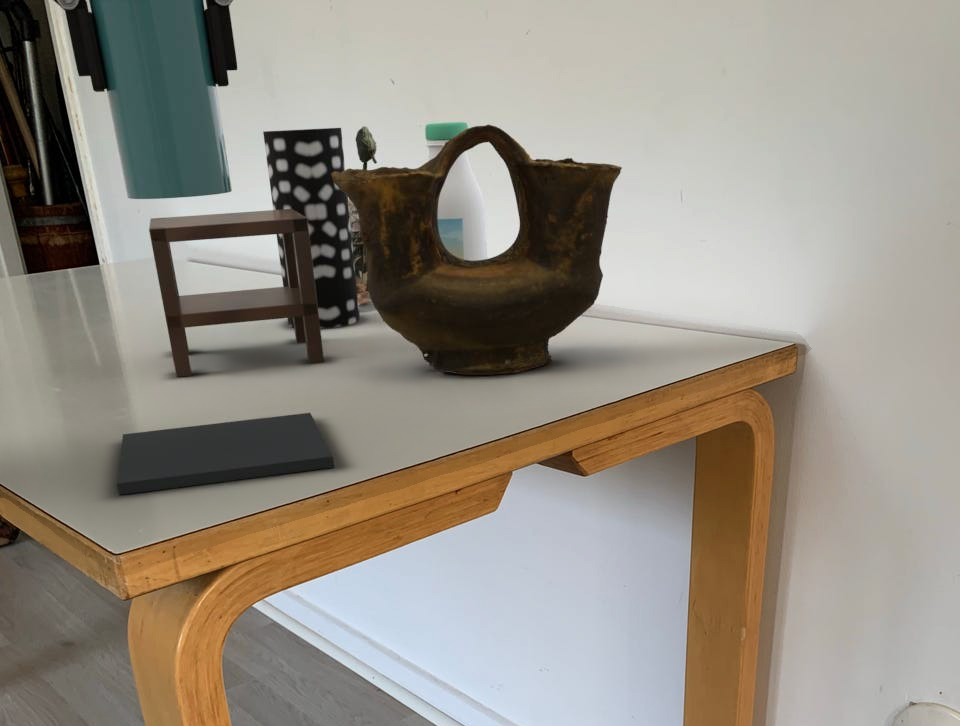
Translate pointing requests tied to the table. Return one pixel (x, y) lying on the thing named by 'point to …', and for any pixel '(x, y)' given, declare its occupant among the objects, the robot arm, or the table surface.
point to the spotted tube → (317, 214)
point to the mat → (221, 453)
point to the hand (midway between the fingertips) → (161, 85)
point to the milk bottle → (458, 199)
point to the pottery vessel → (490, 282)
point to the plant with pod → (365, 153)
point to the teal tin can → (162, 97)
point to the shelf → (244, 303)
